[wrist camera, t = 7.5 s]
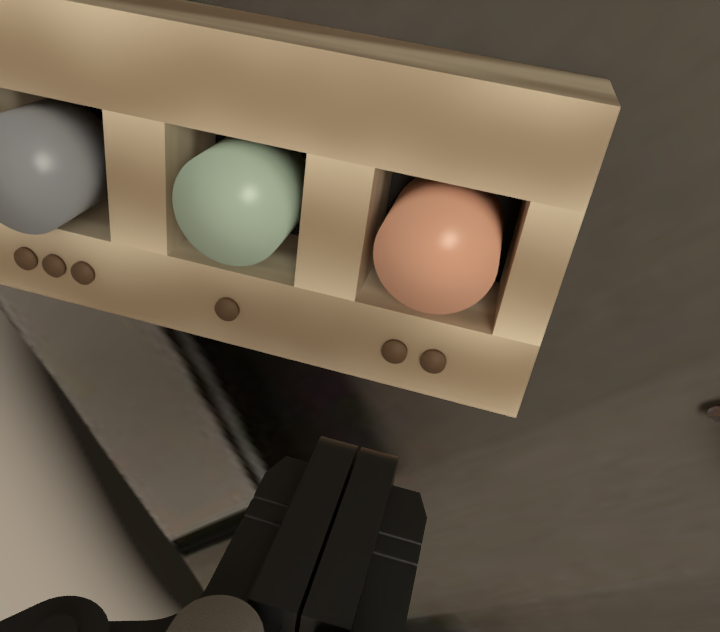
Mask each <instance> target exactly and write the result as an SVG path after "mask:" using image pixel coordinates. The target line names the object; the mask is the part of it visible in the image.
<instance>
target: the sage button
mask: <svg viewBox="0 0 720 632" xmlns="http://www.w3.org/2000/svg"><path fill="white" fill-rule="evenodd" d="M305 166H306V161H305V159H304V158H303V156H302V155H301V153H300V152H299V151H294V150H289V149H285V148H280V147H275V146H271V145H266V144H261V143H257V142H252V141H247V140H243V139H238V138H233V137H229V136H227V137H226V138H224V139H223V140H221V141H219V142H218V143H216V144H215V145H213V146H212V147H210V148H208V149H207V150H205V151H204V152H202V153H201V154H199V155H197V156H196V157H194V158H193V159H191V160H190V161H188V162H187V163H186V164H185V165H184V166H183V168H182V169H181V170H180V172H179V173H178V175H177V177H176V180H175V183H174V187H173V194H172V202H173V209H174V214H175V217H176V220H177V222H178V225H179V227H180V229H181V230H182V232H183V234H184V235H185V236H186V238H187V239H188V241H189V242H190V243H191V244H192V245H193V246H194V247H195V248H196V249H197V250H199V251H200V252H201V253H202V254H204V255H205V256H207V257H209V258H210V259H212V260H214V261H217V262H219V263H222V264H225V265H230V266H249V265H254V264H256V263H259V262H261V261H263V260H265V259H266V258H268V257H269V256H270V255H271V254H272V253H273V252H274V251H275V250H276V249H277V248H278V247H279V245H280V244H281V243H282V242H283V241H284V240H285V238H286V237H287V236H288V235H289V234H290V233H291V231H292V230H293V229H294V228H295V227H296V226H297V224H298V223H299V222H300V218H301V208H302V197H303V187H304V176H305Z"/></svg>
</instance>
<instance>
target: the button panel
mask: <svg viewBox="0 0 720 632" xmlns="http://www.w3.org/2000/svg"><path fill="white" fill-rule="evenodd" d="M45 98H52V99H56V100H61V101H66V102H70V103H75V104H80V105H84V106H89V107H94V108H98V109H102V115H103V130H104V145H105V160H106V175H107V189H108V197H107V198H106V199H104V200H103V201H101V202H99V203H98V204H96V205H94V206H93V207H91V208H89V209H88V210H86V211H84V212H83V213H81V214H79V215H78V216H76V217H74V218H73V219H71V220H69V221H68V222H66V223H64V224H63V225H61V226H59V227H58V228H56V229H54V230H53V231H50V232H48V233H45V234H38V235H32V234H25V233H21V232H18V231H15V230H13V229H10V228H8V227H7V226H5V225H3V224H2V223H0V284H2V285H6V286H9V287H13V288H17V289H21V290H25V291H29V292H33V293H36V294H40V295H44V296H48V297H52V298H56V299H60V300H63V301H67V302H71V303H75V304H79V305H83V306H87V307H90V308H94V309H98V310H102V311H106V312H110V313H114V314H117V315H121V316H125V317H129V318H133V319H137V320H141V321H144V322H148V323H152V324H156V325H160V326H164V327H168V328H171V329H175V330H179V331H183V332H187V333H191V334H195V335H198V336H202V337H206V338H210V339H214V340H218V341H222V342H225V343H229V344H233V345H237V346H241V347H245V348H249V349H252V350H256V351H260V352H264V353H268V354H272V355H276V356H279V357H283V358H287V359H291V360H295V361H299V362H302V363H306V364H310V365H314V366H318V367H322V368H326V369H329V370H333V371H337V372H341V373H345V374H349V375H353V376H356V377H360V378H364V379H368V380H372V381H376V382H380V383H383V384H387V385H391V386H395V387H399V388H403V389H407V390H410V391H414V392H418V393H422V394H426V395H430V396H434V397H437V398H441V399H445V400H449V401H453V402H457V403H461V404H464V405H468V406H472V407H476V408H480V409H484V410H488V411H491V412H495V413H499V414H503V415H507V416H511V417H515V418H516V416H517V413H518V410H519V407H520V404H521V401H522V398H523V395H524V392H525V389H526V386H527V383H528V380H529V378H530V375H531V372H532V369H533V366H534V363H535V360H536V357H537V354H538V351H539V348H540V345H541V342H542V339H543V336H544V333H545V330H546V327H547V324H548V321H549V318H550V315H551V312H552V309H553V306H554V303H555V300H556V297H557V295H558V292H559V289H560V286H561V283H562V280H563V277H564V274H565V271H566V268H567V265H568V262H569V259H570V256H571V253H572V250H573V247H574V244H575V241H576V238H577V235H578V232H579V229H580V226H581V223H582V220H583V217H584V214H585V212H586V209H587V206H588V203H589V200H590V197H591V194H592V191H593V188H594V185H595V182H596V179H597V176H598V173H599V170H600V167H601V164H602V161H603V158H604V155H605V152H606V149H607V146H608V143H609V140H610V137H611V134H612V131H613V128H614V126H615V123H616V120H617V117H618V114H619V111H620V108H621V106H620V104H619V102H618V99H617V97H616V95H615V92H614V90H613V87H612V85H611V83H610V80H609V79H604V78H598V77H593V76H588V75H582V74H577V73H572V72H566V71H561V70H555V69H550V68H545V67H539V66H534V65H529V64H523V63H518V62H513V61H507V60H502V59H497V58H491V57H486V56H481V55H475V54H470V53H465V52H459V51H454V50H449V49H443V48H438V47H433V46H427V45H422V44H417V43H411V42H406V41H400V40H395V39H390V38H384V37H379V36H374V35H368V34H363V33H358V32H352V31H347V30H342V29H336V28H331V27H326V26H320V25H315V24H310V23H304V22H299V21H294V20H288V19H283V18H278V17H272V16H267V15H262V14H256V13H251V12H245V11H240V10H235V9H229V8H224V7H219V6H213V5H208V4H203V3H197V2H192V1H187V0H0V113H2V112H5V111H8V110H11V109H14V108H17V107H20V106H23V105H26V104H29V103H33V102H36V101H39V100H42V99H45ZM216 134H219V135H224V136H229V137H233V138H238V139H243V140H247V141H252V142H257V143H261V144H266V145H271V146H275V147H280V148H285V149H289V150H294V151H299V152H303V153H307V155H306V166H305V176H304V187H303V197H302V208H301V218H300V228H299V236H298V235H294V234H289V235H288V236H287V237H286V238H285V240H284V241H283V242H282V243H281V244H280V245H279V247H278V248H277V249H276V250H275V251H274V252H273V253H272V254H271V255H270V256H269V257H268V258H266V259H265V260H263V261H261V262H259V263H256V264H254V265H249V266H230V265H225V264H222V263H219V262H217V261H214V260H212V259H210V258H209V257H207V256H205V255H204V254H202V253H201V252H200V251H199V250H197V249H196V248H195V247H194V246H193V245H192V244H191V243H190V242H189V241H188V239H187V238H186V236H185V235H184V234H183V232H182V230H181V229H180V227H179V225H178V222H177V220H176V217H175V214H174V209H173V202H172V194H173V187H174V183H175V180H176V177H177V175H178V173H179V172H180V170H181V169H182V168H183V166H184V165H185V164H186V163H187V162H188V161H190V160H191V159H193V158H194V157H196V156H197V155H199V154H201V153H202V152H204V151H205V150H207V149H208V148H210V147H212V146H213V145H215V144H216ZM393 172H396V173H401V174H406V175H410V176H415V177H420V178H424V179H429V180H434V181H438V182H443V183H448V184H452V185H457V186H462V187H466V188H471V189H476V190H480V191H485V192H490V193H494V194H499V195H503V196H508V197H513V198H517V199H522V204H521V207H520V211H519V214H518V218H517V221H516V225H515V229H514V232H513V236H512V239H511V243H510V246H509V250H508V254H507V257H506V261H505V264H504V268H503V271H502V275H501V278H500V282H496V281H494V283H493V285H492V287H491V288H490V290H489V291H488V292H487V294H486V295H485V296H484V297H483V298H482V299H481V300H479V301H478V302H477V303H476V304H474V305H472V306H471V307H469V308H467V309H464V310H462V311H459V312H455V313H450V314H428V313H423V312H420V311H416V310H414V309H411V308H409V307H407V306H405V305H404V304H402V303H401V302H399V301H398V300H396V299H395V298H394V297H393V296H392V295H391V294H390V293H389V292H388V291H387V290H386V288H385V287H384V286H383V284H382V283H381V281H380V279H379V277H378V275H377V272H376V269H375V265H374V260H373V248H374V242H375V238H376V235H377V233H378V231H379V229H380V227H381V225H382V223H383V222H384V220H385V217H386V211H387V205H388V199H389V193H390V187H391V181H392V175H393Z"/></svg>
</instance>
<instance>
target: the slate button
mask: <svg viewBox="0 0 720 632" xmlns="http://www.w3.org/2000/svg"><path fill="white" fill-rule="evenodd" d="M107 197H108V189H107V175H106V160H105V145H104V130H103V122H102V121H101V120H100V119H99V118H98V117H97V116H96V115H95V114H94V113H93V112H92V111H90V110H89V109H88V108H86V107H85V106H83V105H80V104H75V103H70V102H66V101H61V100H56V99H52V98H45V99H42V100H39V101H36V102H33V103H29V104H26V105H23V106H20V107H17V108H14V109H11V110H8V111H5V112H2V113H0V223H2V224H3V225H5V226H7V227H8V228H10V229H13V230H15V231H18V232H21V233H25V234H32V235H38V234H45V233H48V232H50V231H53V230H54V229H56V228H58V227H59V226H61V225H63V224H64V223H66V222H68V221H69V220H71V219H73V218H74V217H76V216H78V215H79V214H81V213H83V212H84V211H86V210H88V209H89V208H91V207H93V206H94V205H96V204H98V203H99V202H101V201H103V200H104V199H106V198H107Z"/></svg>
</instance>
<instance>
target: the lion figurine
mask: <svg viewBox="0 0 720 632" xmlns="http://www.w3.org/2000/svg"><path fill="white" fill-rule="evenodd" d="M706 415H707V417H708V418H709V419H710V420H712V421H717V422H720V406H714V407H712V408H710V409H708V410H707V414H706Z"/></svg>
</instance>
